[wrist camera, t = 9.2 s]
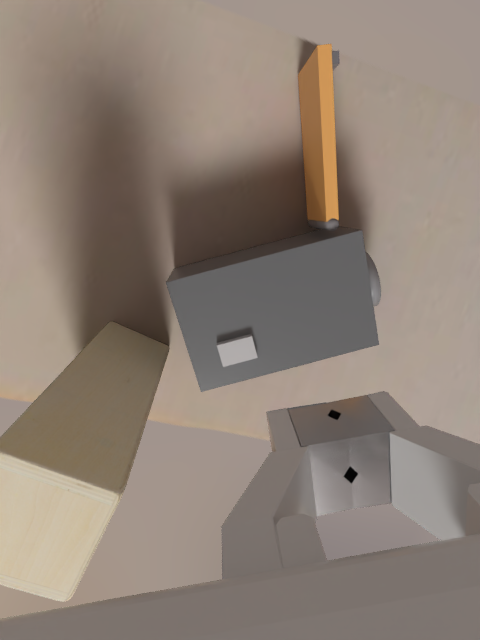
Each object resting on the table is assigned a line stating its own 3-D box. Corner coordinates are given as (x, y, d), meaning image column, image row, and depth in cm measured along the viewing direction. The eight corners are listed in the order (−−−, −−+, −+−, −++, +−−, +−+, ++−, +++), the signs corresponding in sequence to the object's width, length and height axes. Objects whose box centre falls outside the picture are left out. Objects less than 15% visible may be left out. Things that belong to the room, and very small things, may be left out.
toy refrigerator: (103, 314, 37) (-28, 443, 17) (171, 344, 38) (127, 496, 18) (74, 380, 38) (-75, 569, 18) (141, 406, 40) (70, 608, 20)
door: (326, 225, 35) (348, 229, 30) (308, 227, 35) (326, 232, 30) (318, 72, 32) (342, 42, 26) (298, 74, 31) (317, 45, 26)
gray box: (348, 221, 36) (383, 225, 28) (363, 317, 39) (399, 342, 31) (174, 268, 36) (164, 284, 29) (202, 360, 39) (200, 395, 32)
